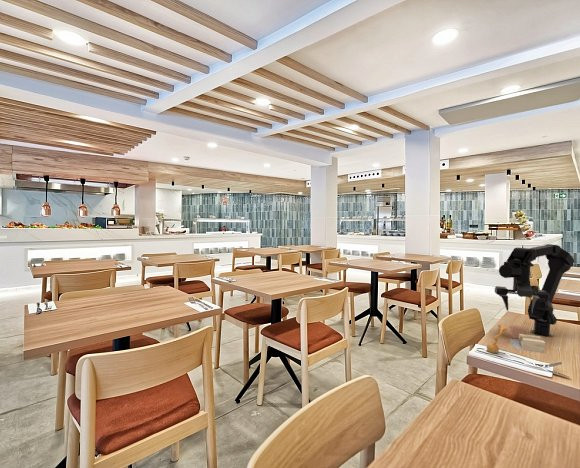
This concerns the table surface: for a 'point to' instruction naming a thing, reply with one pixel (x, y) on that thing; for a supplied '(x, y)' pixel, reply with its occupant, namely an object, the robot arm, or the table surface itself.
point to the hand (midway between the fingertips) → (519, 311)
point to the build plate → (517, 346)
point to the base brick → (531, 343)
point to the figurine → (492, 346)
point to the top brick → (517, 331)
